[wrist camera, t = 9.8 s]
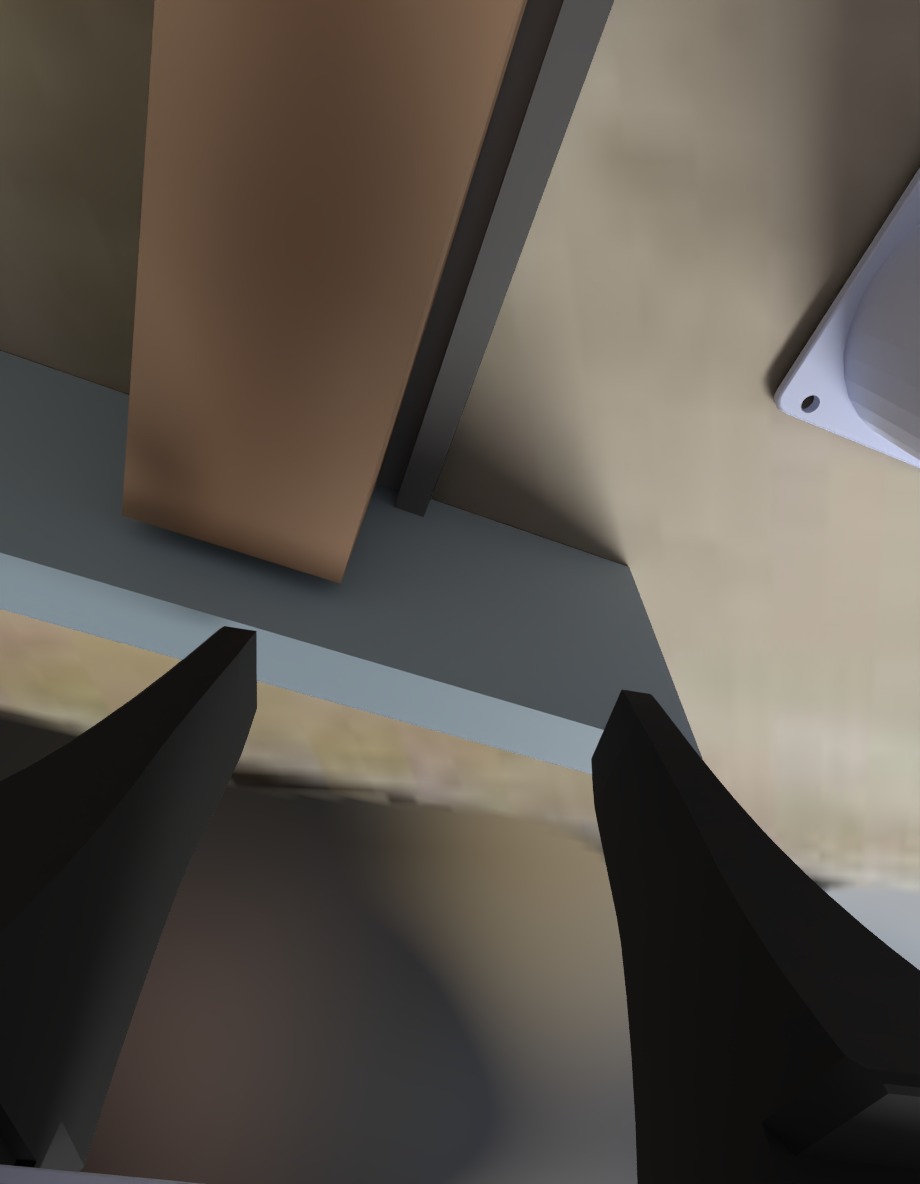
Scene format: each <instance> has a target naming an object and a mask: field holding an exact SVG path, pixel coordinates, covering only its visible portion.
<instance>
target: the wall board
mask: <svg viewBox="0 0 920 1184" xmlns="http://www.w3.org/2000/svg"><path fill="white" fill-rule="evenodd" d="M613 2H614V0H528V1H527V4H526V7H525V10H524V13H523V17H522V20H521V23H520V26H519V29H518V33H517V36H516V39H515V42H514V46H513V49H512V52H511V55H510V58H509V62H508V65H507V68H506V71H505V74H504V78H503V81H502V84H501V87H500V90H499V94H498V97H497V100H496V103H495V107H494V110H493V113H492V116H491V119H490V123H489V126H488V129H487V132H486V135H485V139H484V142H483V145H482V148H481V152H480V155H479V158H478V161H477V164H476V168H475V171H474V174H473V177H472V180H471V184H470V187H469V190H468V193H467V197H466V200H465V203H464V206H463V209H462V213H461V216H460V219H459V222H458V225H457V229H456V232H455V235H454V238H453V241H452V245H451V248H450V251H449V254H448V258H447V261H446V264H445V267H444V270H443V274H442V277H441V280H440V283H439V286H438V290H437V293H436V296H435V299H434V303H433V306H432V309H431V312H430V315H429V319H428V322H427V325H426V328H425V331H424V335H423V338H422V341H421V344H420V347H419V351H418V354H417V357H416V360H415V364H414V367H413V370H412V373H411V376H410V380H409V383H408V386H407V389H406V392H405V396H404V399H403V402H402V405H401V409H400V412H399V415H398V418H397V421H396V425H395V428H394V431H393V434H392V437H391V441H390V444H389V447H388V450H387V453H386V457H385V460H384V463H383V466H382V470H381V472H380V475H379V478H378V481H377V484H376V486H375V489H374V492H373V495H372V497H371V500H370V503H369V506H368V509H367V511H366V514H365V517H364V520H363V523H362V525H361V528H360V531H359V534H358V537H357V539H356V542H355V545H354V548H353V551H352V553H351V556H350V559H349V562H348V565H347V567H346V570H345V573H344V576H343V579H342V581H341V584H340V583H337V582H333V581H330V580H327V579H324V578H321V577H317V576H314V575H311V574H308V573H305V572H301V571H298V570H295V569H292V568H289V567H285V566H282V565H279V564H276V563H273V562H269V561H266V560H263V559H260V558H257V557H253V556H250V555H247V554H244V553H241V552H237V551H234V550H231V549H228V548H225V547H222V546H218V545H215V544H212V543H209V542H206V541H202V540H199V539H196V538H193V537H190V536H186V535H183V534H180V533H177V532H174V531H170V530H167V529H164V528H161V527H158V526H154V525H151V524H148V523H145V522H142V521H138V520H135V519H132V518H129V517H126V516H122V505H123V490H124V474H125V458H126V442H127V427H128V411H129V395H128V394H125V393H122V392H119V391H116V390H113V389H110V388H107V387H105V386H102V385H99V384H96V383H93V382H90V381H87V380H84V379H81V378H78V377H76V376H73V375H70V374H67V373H64V372H61V371H58V370H55V369H52V368H49V367H46V366H44V365H41V364H38V363H35V362H32V361H29V360H26V359H23V358H20V357H17V356H15V355H12V354H9V353H6V352H3V351H0V609H2V610H6V611H9V612H13V613H16V614H20V615H24V616H27V617H31V618H34V619H38V620H41V621H45V622H49V623H52V624H56V625H59V626H63V627H66V628H70V629H74V630H77V631H81V632H84V633H88V634H91V635H95V636H99V637H102V638H106V639H109V640H113V641H116V642H120V643H124V644H127V645H131V646H134V647H138V648H141V649H145V650H149V651H152V652H156V653H159V654H163V655H166V656H170V657H174V658H177V659H181V660H183V659H184V658H185V657H187V656H188V655H189V654H190V653H191V652H193V651H194V650H195V649H196V648H197V647H199V646H200V645H201V644H202V643H203V642H204V641H206V640H207V639H208V638H209V637H210V636H212V635H213V634H214V633H215V632H216V631H218V630H219V629H220V628H222V627H224V626H228V627H234V628H240V629H247V630H253V631H257V681H259V682H263V683H267V684H270V685H274V686H277V687H281V688H284V689H288V690H292V691H295V692H299V693H302V694H306V695H309V696H313V697H317V698H320V699H324V700H327V701H331V702H334V703H338V704H342V705H345V706H349V707H352V708H356V709H359V710H363V711H367V712H370V713H374V714H377V715H381V716H384V717H388V718H392V719H395V720H399V721H402V722H406V723H409V724H413V725H417V726H420V727H424V728H427V729H431V730H434V731H438V732H442V733H445V734H449V735H452V736H456V737H459V738H463V739H467V740H470V741H474V742H477V743H481V744H484V745H488V746H492V747H495V748H499V749H502V750H506V751H510V752H513V753H517V754H520V755H524V756H527V757H531V758H535V759H538V760H542V761H545V762H549V763H552V764H556V765H560V766H563V767H567V768H570V769H574V770H577V771H581V772H585V773H588V774H592V763H591V758H592V756H593V754H594V751H595V749H596V747H597V745H598V742H599V740H600V738H601V735H602V733H603V731H604V729H605V726H606V724H607V722H608V719H609V717H610V715H611V713H612V710H613V708H614V706H615V703H616V701H617V699H618V697H619V694H620V692H621V690H622V689H623V690H629V691H635V692H642V693H648V694H652V695H653V697H654V698H655V699H656V700H657V702H658V703H659V704H660V705H661V707H662V708H663V709H664V711H665V712H666V713H667V715H668V716H669V717H670V718H671V720H672V721H673V722H674V724H675V725H676V726H677V728H678V729H679V730H680V732H681V733H682V734H683V735H684V737H685V738H686V739H687V741H688V742H689V743H690V745H691V746H692V747H693V748H694V750H695V751H696V752H697V754H698V755H699V756H700V757H701V759H702V756H701V754H700V751H699V749H698V746H697V743H696V741H695V738H694V735H693V733H692V730H691V728H690V725H689V722H688V720H687V717H686V715H685V712H684V709H683V707H682V704H681V702H680V699H679V696H678V694H677V691H676V688H675V686H674V683H673V681H672V678H671V675H670V673H669V670H668V668H667V665H666V662H665V660H664V657H663V654H662V652H661V649H660V647H659V644H658V641H657V639H656V636H655V634H654V631H653V628H652V626H651V623H650V620H649V618H648V615H647V613H646V610H645V607H644V605H643V602H642V600H641V597H640V594H639V592H638V589H637V587H636V584H635V581H634V579H633V576H632V573H631V571H630V568H629V567H627V566H624V565H621V564H619V563H616V562H613V561H610V560H607V559H604V558H601V557H598V556H595V555H592V554H590V553H587V552H584V551H581V550H578V549H575V548H572V547H569V546H566V545H563V544H560V543H558V542H555V541H552V540H549V539H546V538H543V537H540V536H537V535H534V534H531V533H529V532H526V531H523V530H520V529H517V528H514V527H511V526H508V525H505V524H502V523H499V522H497V521H494V520H491V519H488V518H485V517H482V516H479V515H476V514H473V513H470V512H468V511H465V510H462V509H459V508H456V507H453V506H450V505H447V504H444V503H441V502H439V501H436V500H433V499H431V496H432V493H433V490H434V488H435V485H436V482H437V480H438V477H439V474H440V471H441V469H442V466H443V463H444V461H445V458H446V455H447V452H448V450H449V447H450V444H451V442H452V439H453V436H454V433H455V431H456V428H457V425H458V423H459V420H460V417H461V414H462V412H463V409H464V406H465V404H466V401H467V398H468V395H469V393H470V390H471V387H472V385H473V382H474V379H475V376H476V374H477V371H478V368H479V366H480V363H481V360H482V357H483V355H484V352H485V349H486V347H487V344H488V341H489V338H490V336H491V333H492V330H493V328H494V325H495V322H496V319H497V317H498V314H499V311H500V309H501V306H502V303H503V300H504V298H505V295H506V292H507V290H508V287H509V284H510V281H511V279H512V276H513V273H514V271H515V268H516V265H517V262H518V260H519V257H520V254H521V252H522V249H523V246H524V243H525V241H526V238H527V235H528V233H529V230H530V227H531V224H532V222H533V219H534V216H535V214H536V211H537V208H538V205H539V203H540V200H541V197H542V195H543V192H544V189H545V186H546V184H547V181H548V178H549V176H550V173H551V170H552V167H553V165H554V162H555V159H556V157H557V154H558V151H559V148H560V146H561V143H562V140H563V138H564V135H565V132H566V129H567V127H568V124H569V121H570V119H571V116H572V113H573V110H574V108H575V105H576V102H577V100H578V97H579V94H580V91H581V89H582V86H583V83H584V81H585V78H586V75H587V72H588V70H589V67H590V64H591V62H592V59H593V56H594V53H595V51H596V48H597V45H598V43H599V40H600V37H601V34H602V32H603V29H604V26H605V24H606V21H607V18H608V15H609V13H610V10H611V7H612V5H613Z"/></svg>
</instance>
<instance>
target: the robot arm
mask: <svg viewBox="0 0 920 1184" xmlns="http://www.w3.org/2000/svg"><path fill="white" fill-rule="evenodd" d="M811 395H813V396H814V400H813V403H812V404H811V405H810V406H809V407H808V408H805V409H801V404H802V402H803V400H804V399H805V398H806V397H808V396H811ZM774 402H775V405H776V407H777V408H779V409H780V410H781V411H783V412H784V413H785V414H788V415H790V416H793V417H795V418H798V419H800V420H803V421H805V422H807V423H810V424H812V425H815V426H817V427H820V428H822V429H825V430H827V431H829V432H832V433H834V434H837V435H839V436H842V437H844V438H847V439H849V440H851V441H854V442H856V443H859V444H861V445H864V446H866V447H869V448H871V449H873V450H876V451H878V452H881V453H883V454H886V455H888V456H891V457H893V458H895V459H898V460H900V461H903V462H905V463H908V464H910V465H913V466H915V467H918V468H920V168H919V169H918V171H917V173H916V174H915V176H914V177H913V179H912V180H911V182H910V183H909V185H908V187H907V188H906V190H905V191H904V193H903V194H902V196H901V197H900V199H899V201H898V202H897V204H896V205H895V207H894V208H893V210H892V211H891V213H890V215H889V216H888V218H887V219H886V221H885V222H884V224H883V225H882V227H881V229H880V230H879V232H878V233H877V235H876V236H875V238H874V239H873V241H872V243H871V244H870V246H869V247H868V249H867V250H866V252H865V253H864V255H863V257H862V258H861V260H860V261H859V263H858V264H857V266H856V267H855V269H854V271H853V272H852V274H851V275H850V277H849V278H848V280H847V281H846V283H845V285H844V286H843V288H842V289H841V291H840V292H839V294H838V295H837V297H836V299H835V300H834V302H833V303H832V305H831V306H830V308H829V309H828V311H827V313H826V314H825V316H824V317H823V319H822V320H821V322H820V323H819V325H818V327H817V328H816V330H815V331H814V333H813V334H812V336H811V337H810V339H809V341H808V342H807V344H806V345H805V347H804V348H803V350H802V351H801V353H800V355H799V356H798V358H797V359H796V361H795V362H794V364H793V365H792V367H791V369H790V370H789V372H788V373H787V375H786V376H785V378H784V379H783V381H782V383H781V384H780V386H779V387H778V389H777V391H776V393H775V395H774ZM256 709H257V631H253V630H247V629H240V628H234V627H228V626H224V627H222V628H220V629H219V630H218V631H216V632H215V633H214V634H213V635H212V636H210V637H209V638H208V639H207V640H206V641H204V642H203V643H202V644H201V645H200V646H199V647H197V648H196V649H195V650H194V651H193V652H191V653H190V654H189V655H188V656H187V657H185V658H184V659H183V660H182V661H180V662H179V663H178V664H177V665H175V666H174V667H173V668H172V669H171V670H169V671H168V672H167V673H165V674H164V675H163V676H162V677H160V678H159V679H158V680H156V681H155V682H154V683H153V684H151V685H150V686H149V687H147V688H146V689H145V690H143V691H142V692H141V693H140V694H138V695H137V696H136V697H134V698H133V699H132V700H130V701H129V702H127V703H126V704H124V705H123V706H122V707H120V708H119V709H117V710H116V711H114V712H113V713H112V714H110V715H109V716H107V717H106V718H104V719H103V720H102V721H100V722H99V723H97V724H96V725H95V726H93V727H92V728H90V729H89V730H87V731H85V732H84V733H82V734H81V735H79V736H78V737H76V738H75V739H73V740H72V741H70V742H68V743H67V744H65V745H63V746H62V747H60V748H59V749H57V750H55V751H54V752H52V753H50V754H49V755H47V756H45V757H44V758H42V759H40V760H38V761H37V762H35V763H33V764H32V765H30V766H28V767H26V768H25V769H22V770H21V771H19V772H17V773H15V774H14V775H11V776H10V777H8V778H6V779H4V780H2V781H0V1184H201V1183H189V1182H180V1181H169V1180H158V1179H148V1178H137V1177H126V1176H116V1175H106V1174H94V1173H85V1172H84V1173H83V1172H79V1171H80V1170H81V1169H82V1168H83V1167H84V1165H85V1162H86V1159H87V1156H88V1152H89V1149H90V1146H91V1142H92V1139H93V1136H94V1133H95V1130H96V1127H97V1124H98V1120H99V1117H100V1114H101V1111H102V1108H103V1104H104V1101H105V1098H106V1095H107V1092H108V1089H109V1086H110V1082H111V1079H112V1076H113V1073H114V1070H115V1067H116V1064H117V1060H118V1058H119V1055H120V1052H121V1049H122V1046H123V1043H124V1040H125V1037H126V1034H127V1031H128V1028H129V1025H130V1022H131V1019H132V1016H133V1013H134V1010H135V1007H136V1004H137V1001H138V998H139V996H140V993H141V990H142V987H143V984H144V981H145V979H146V975H147V973H148V970H149V967H150V965H151V962H152V959H153V956H154V953H155V950H156V948H157V945H158V942H159V939H160V936H161V934H162V931H163V928H164V925H165V923H166V920H167V918H168V915H169V912H170V909H171V907H172V904H173V901H174V899H175V896H176V893H177V891H178V888H179V885H180V883H181V881H182V878H183V876H184V874H185V871H186V869H187V867H188V865H189V862H190V860H191V858H192V856H193V854H194V852H195V850H196V848H197V846H198V843H199V842H200V839H201V837H202V835H203V833H204V831H205V829H206V827H207V825H208V823H209V821H210V819H211V817H212V815H213V813H214V810H215V809H216V806H217V804H218V802H219V800H220V798H221V796H222V794H223V792H224V790H225V788H226V786H227V784H228V782H229V780H230V777H231V775H232V773H233V771H234V769H235V767H236V765H237V763H238V761H239V758H240V756H241V754H242V751H243V748H244V745H245V742H246V739H247V737H248V734H249V731H250V728H251V725H252V722H253V718H254V715H255V712H256ZM591 763H592V780H593V793H594V805H595V812H596V817H597V822H598V827H599V832H600V837H601V842H602V847H603V852H604V857H605V862H606V866H607V872H608V876H609V881H610V886H611V891H612V895H613V901H614V906H615V910H616V915H617V921H618V927H619V933H620V939H621V947H622V956H623V966H624V976H625V985H626V995H627V1007H628V1018H629V1030H630V1042H631V1055H632V1070H633V1088H634V1104H635V1121H636V1148H637V1177H638V1184H920V970H918V969H917V968H916V967H914V966H913V965H912V964H911V963H909V962H908V961H907V960H905V959H904V958H902V956H900V955H899V954H898V953H896V952H895V951H894V950H892V949H891V948H890V947H889V946H888V945H886V944H885V943H884V942H883V941H881V940H880V939H879V938H878V937H877V936H875V935H874V934H873V933H872V932H870V931H869V930H868V929H867V928H866V927H864V926H863V925H862V924H861V923H860V922H859V921H857V920H856V919H855V918H854V917H853V916H852V915H851V914H850V913H848V912H847V911H846V910H845V909H844V908H843V907H842V906H840V905H839V904H838V903H837V902H836V901H834V899H832V898H831V897H830V896H829V895H828V894H827V893H826V892H825V891H823V890H822V889H821V888H820V887H819V886H818V885H817V884H816V883H815V882H814V881H813V880H812V879H811V878H809V877H808V876H807V875H806V874H805V873H804V872H803V871H802V870H801V869H800V868H799V867H798V866H797V865H796V864H795V863H794V862H793V861H792V860H791V859H790V858H789V857H788V856H787V855H786V854H785V853H784V852H783V851H782V850H781V849H780V848H779V847H778V846H777V845H776V844H775V843H774V842H773V841H772V840H771V839H770V838H769V837H768V836H767V834H766V833H765V832H764V831H763V830H762V829H761V828H760V827H759V826H758V825H757V824H756V823H755V821H754V820H753V819H752V818H751V817H750V816H749V815H748V814H747V812H746V811H745V810H744V809H743V808H742V807H741V806H740V805H739V803H738V802H737V801H736V800H735V799H734V798H733V796H732V795H731V794H730V793H729V792H728V791H727V789H726V788H725V787H724V786H723V785H722V783H721V782H720V781H719V780H718V779H717V777H716V776H715V775H714V774H713V772H712V771H711V770H710V769H709V767H708V766H707V765H706V764H705V762H704V761H703V760H702V759H701V757H700V756H699V755H698V754H697V752H696V751H695V750H694V748H693V747H692V746H691V745H690V743H689V742H688V741H687V739H686V738H685V737H684V735H683V734H682V733H681V732H680V730H679V729H678V728H677V726H676V725H675V724H674V722H673V721H672V720H671V718H670V717H669V716H668V715H667V713H666V712H665V711H664V709H663V708H662V707H661V705H660V704H659V703H658V702H657V700H656V699H655V698H654V697H653V695H652V694H648V693H642V692H635V691H629V690H623V689H622V690H621V692H620V694H619V697H618V699H617V701H616V703H615V706H614V708H613V710H612V713H611V715H610V717H609V719H608V722H607V724H606V726H605V729H604V731H603V733H602V735H601V738H600V740H599V742H598V745H597V747H596V749H595V751H594V754H593V756H592V758H591Z"/></svg>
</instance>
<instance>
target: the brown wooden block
mask: <svg viewBox="0 0 920 1184" xmlns="http://www.w3.org/2000/svg"><path fill="white" fill-rule="evenodd" d="M527 1H528V0H155V2H154V18H153V33H152V49H151V65H150V80H149V96H148V112H147V128H146V143H145V159H144V175H143V191H142V206H141V222H140V238H139V254H138V269H137V285H136V301H135V316H134V332H133V348H132V364H131V379H130V395H129V411H128V427H127V442H126V458H125V474H124V490H123V505H122V516H126V517H129V518H132V519H135V520H138V521H142V522H145V523H148V524H151V525H154V526H158V527H161V528H164V529H167V530H170V531H174V532H177V533H180V534H183V535H186V536H190V537H193V538H196V539H199V540H202V541H206V542H209V543H212V544H215V545H218V546H222V547H225V548H228V549H231V550H234V551H237V552H241V553H244V554H247V555H250V556H253V557H257V558H260V559H263V560H266V561H269V562H273V563H276V564H279V565H282V566H285V567H289V568H292V569H295V570H298V571H301V572H305V573H308V574H311V575H314V576H317V577H321V578H324V579H327V580H330V581H333V582H337V583H340V584H341V581H342V579H343V576H344V573H345V570H346V567H347V565H348V562H349V559H350V556H351V553H352V551H353V548H354V545H355V542H356V539H357V537H358V534H359V531H360V528H361V525H362V523H363V520H364V517H365V514H366V511H367V509H368V506H369V503H370V500H371V497H372V495H373V492H374V489H375V486H376V484H377V481H378V478H379V475H380V472H381V470H382V466H383V463H384V460H385V457H386V453H387V450H388V447H389V444H390V441H391V437H392V434H393V431H394V428H395V425H396V421H397V418H398V415H399V412H400V409H401V405H402V402H403V399H404V396H405V392H406V389H407V386H408V383H409V380H410V376H411V373H412V370H413V367H414V364H415V360H416V357H417V354H418V351H419V347H420V344H421V341H422V338H423V335H424V331H425V328H426V325H427V322H428V319H429V315H430V312H431V309H432V306H433V303H434V299H435V296H436V293H437V290H438V286H439V283H440V280H441V277H442V274H443V270H444V267H445V264H446V261H447V258H448V254H449V251H450V248H451V245H452V241H453V238H454V235H455V232H456V229H457V225H458V222H459V219H460V216H461V213H462V209H463V206H464V203H465V200H466V197H467V193H468V190H469V187H470V184H471V180H472V177H473V174H474V171H475V168H476V164H477V161H478V158H479V155H480V152H481V148H482V145H483V142H484V139H485V135H486V132H487V129H488V126H489V123H490V119H491V116H492V113H493V110H494V107H495V103H496V100H497V97H498V94H499V90H500V87H501V84H502V81H503V78H504V74H505V71H506V68H507V65H508V62H509V58H510V55H511V52H512V49H513V46H514V42H515V39H516V36H517V33H518V29H519V26H520V23H521V20H522V17H523V13H524V10H525V7H526V4H527Z"/></svg>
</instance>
